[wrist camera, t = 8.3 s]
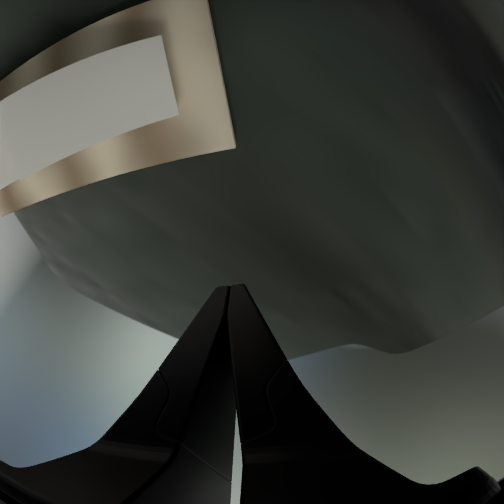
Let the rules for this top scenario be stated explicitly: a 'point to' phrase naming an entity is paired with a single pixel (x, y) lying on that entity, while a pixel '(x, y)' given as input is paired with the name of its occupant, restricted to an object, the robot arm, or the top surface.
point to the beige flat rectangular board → (152, 135)
